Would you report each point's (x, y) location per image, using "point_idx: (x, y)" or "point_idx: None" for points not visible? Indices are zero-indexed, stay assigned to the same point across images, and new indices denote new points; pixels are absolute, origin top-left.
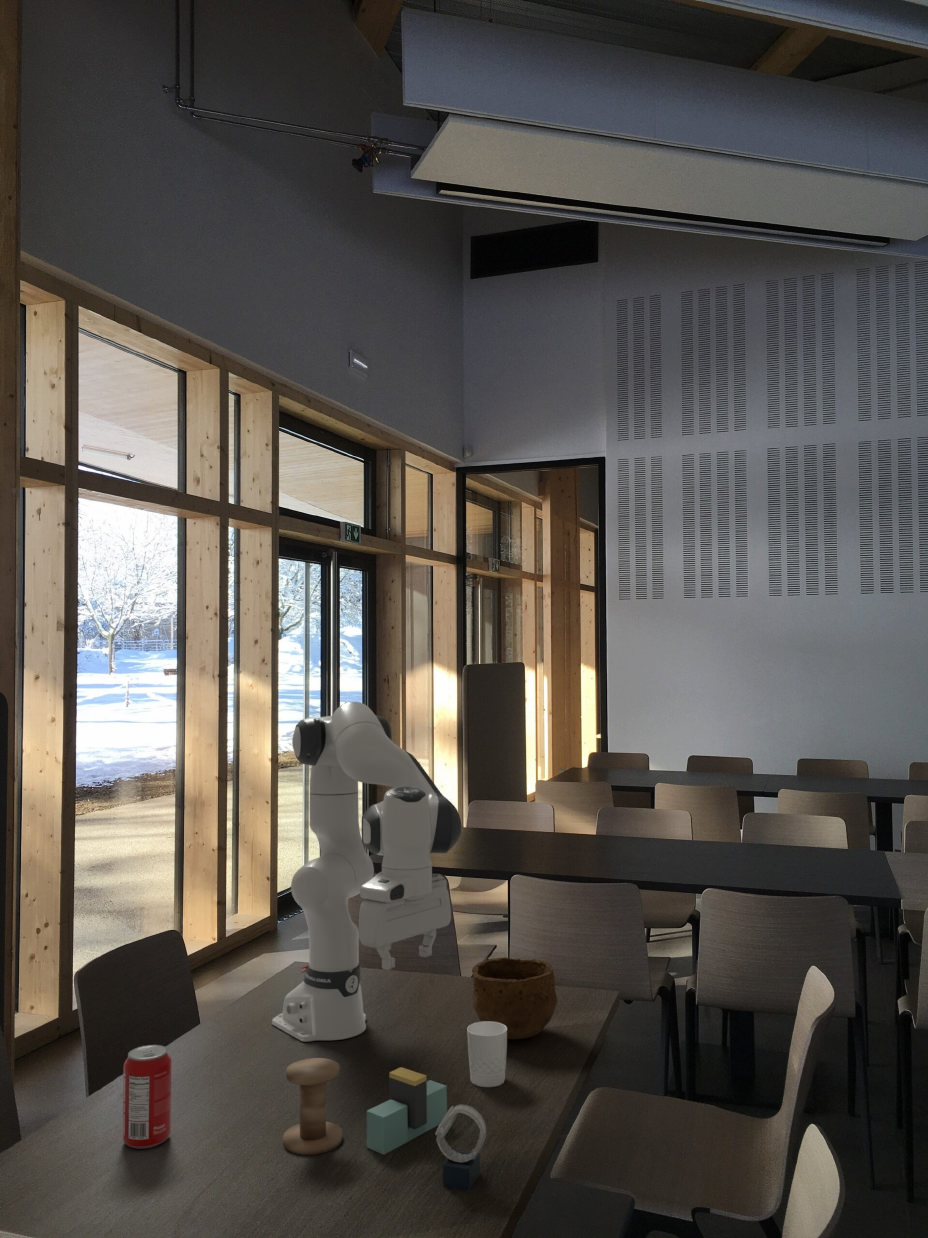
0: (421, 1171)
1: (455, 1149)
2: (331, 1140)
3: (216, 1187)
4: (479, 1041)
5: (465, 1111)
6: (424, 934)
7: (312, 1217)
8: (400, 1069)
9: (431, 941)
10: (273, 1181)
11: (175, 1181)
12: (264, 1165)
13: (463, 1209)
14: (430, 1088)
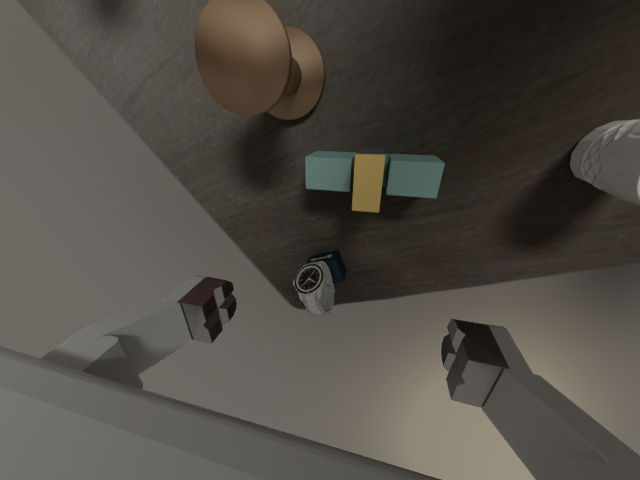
0: (317, 228)
1: (335, 261)
2: (290, 112)
3: (163, 79)
4: (627, 177)
5: (308, 310)
6: (565, 469)
7: (210, 198)
8: (375, 162)
9: (514, 449)
10: (211, 121)
11: (132, 23)
12: None
13: None
14: (415, 184)
